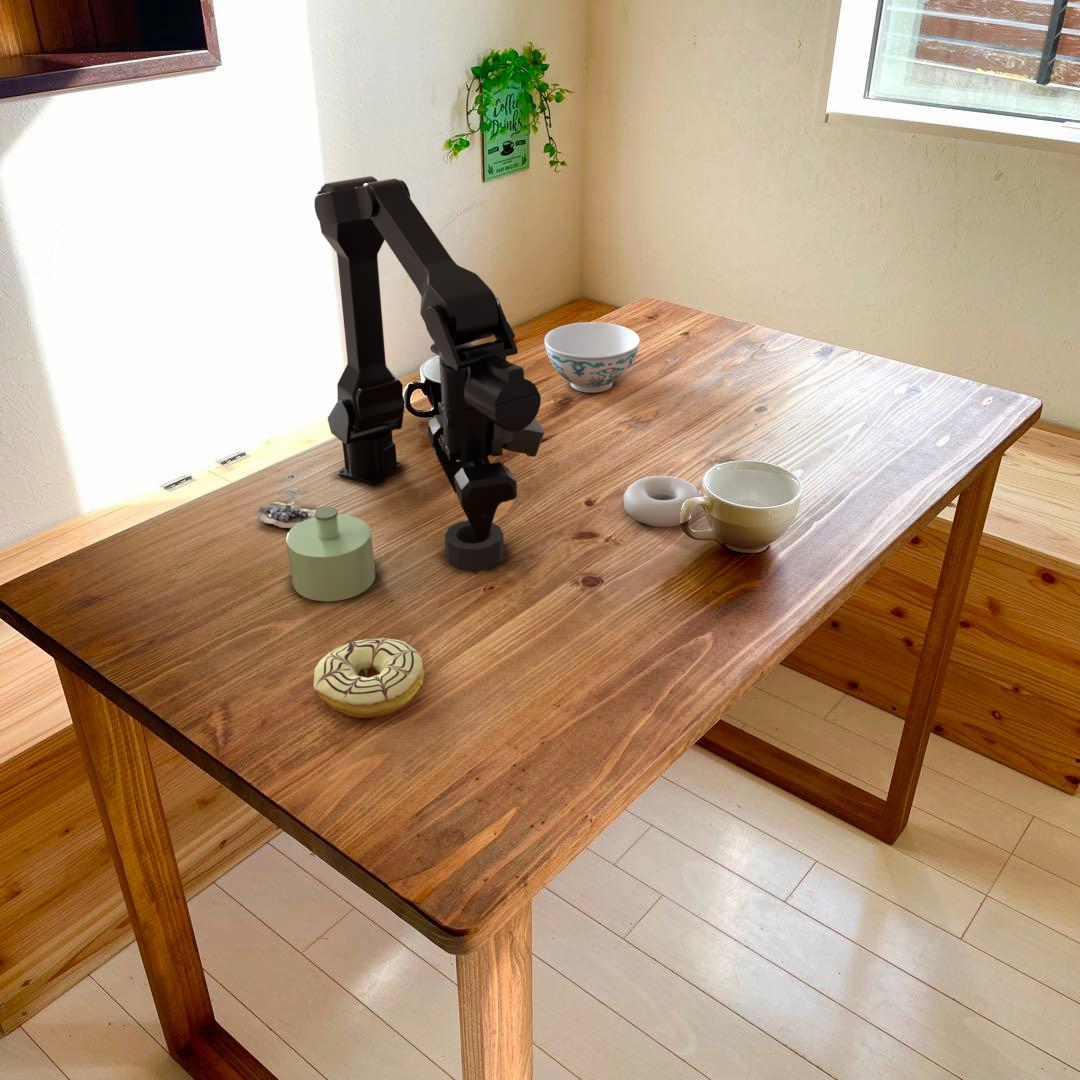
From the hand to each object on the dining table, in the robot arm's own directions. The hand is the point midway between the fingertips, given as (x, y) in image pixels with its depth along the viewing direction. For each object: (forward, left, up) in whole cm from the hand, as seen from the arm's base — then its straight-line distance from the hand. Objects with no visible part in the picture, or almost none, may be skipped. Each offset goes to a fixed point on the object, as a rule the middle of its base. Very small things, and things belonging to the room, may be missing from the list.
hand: (473, 520), depth 131 cm
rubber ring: (0, 0, -5) cm, 5 cm away
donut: (+16, +20, -5) cm, 26 cm away
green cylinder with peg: (-12, -12, -5) cm, 18 cm away
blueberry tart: (-26, -3, -5) cm, 27 cm away
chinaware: (-10, +53, -5) cm, 54 cm away
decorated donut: (+4, -27, -5) cm, 28 cm away
